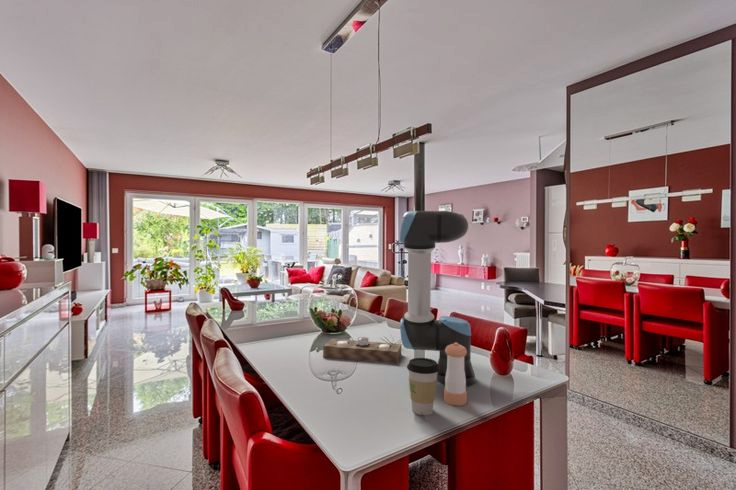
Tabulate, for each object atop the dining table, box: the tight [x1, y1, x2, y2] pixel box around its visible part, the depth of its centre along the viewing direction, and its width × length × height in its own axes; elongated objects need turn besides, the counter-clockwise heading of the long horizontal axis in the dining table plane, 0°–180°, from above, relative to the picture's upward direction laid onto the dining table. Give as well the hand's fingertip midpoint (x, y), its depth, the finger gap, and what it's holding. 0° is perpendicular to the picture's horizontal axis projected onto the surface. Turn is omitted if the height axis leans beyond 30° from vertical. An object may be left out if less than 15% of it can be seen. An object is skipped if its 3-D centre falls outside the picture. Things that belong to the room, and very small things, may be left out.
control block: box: [322, 338, 402, 364], centre depth 166 cm, size 34×13×5 cm, turn 77°
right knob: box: [379, 344, 390, 349], centre depth 163 cm, size 5×5×5 cm
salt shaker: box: [443, 342, 468, 406], centre depth 118 cm, size 7×7×19 cm
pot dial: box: [357, 336, 369, 347], centre depth 166 cm, size 5×5×5 cm
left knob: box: [337, 341, 348, 346], centre depth 168 cm, size 5×5×5 cm
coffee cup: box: [406, 357, 439, 416], centre depth 111 cm, size 10×10×15 cm
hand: (423, 289), depth 180 cm, fingers closed
